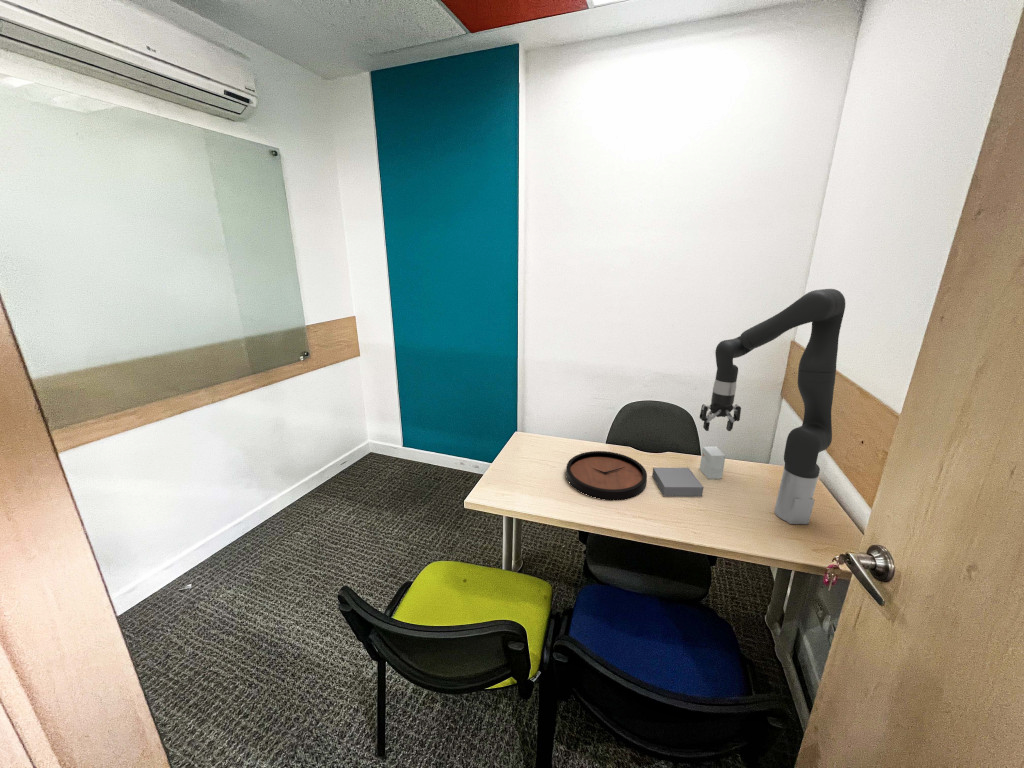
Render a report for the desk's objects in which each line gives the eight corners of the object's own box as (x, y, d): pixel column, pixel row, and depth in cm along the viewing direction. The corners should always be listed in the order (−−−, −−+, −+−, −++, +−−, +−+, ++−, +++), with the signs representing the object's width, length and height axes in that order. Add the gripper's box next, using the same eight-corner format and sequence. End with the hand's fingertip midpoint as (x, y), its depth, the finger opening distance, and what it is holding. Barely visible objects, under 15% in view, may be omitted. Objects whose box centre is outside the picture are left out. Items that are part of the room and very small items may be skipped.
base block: (702, 496, 146) (703, 487, 145) (663, 496, 147) (664, 487, 146) (687, 476, 160) (688, 467, 159) (652, 476, 160) (653, 467, 159)
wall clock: (567, 489, 146) (565, 449, 175) (567, 499, 147) (565, 457, 176) (655, 493, 142) (638, 452, 172) (654, 503, 144) (637, 460, 173)
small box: (722, 479, 157) (726, 455, 154) (707, 479, 158) (711, 455, 154) (712, 468, 165) (716, 446, 162) (699, 468, 165) (702, 446, 162)
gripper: (709, 394, 147) (703, 434, 152) (748, 394, 146) (740, 434, 151) (700, 388, 154) (695, 426, 159) (738, 388, 153) (731, 426, 159)
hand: (717, 430), depth 155 cm, fingers open, 8 cm apart
